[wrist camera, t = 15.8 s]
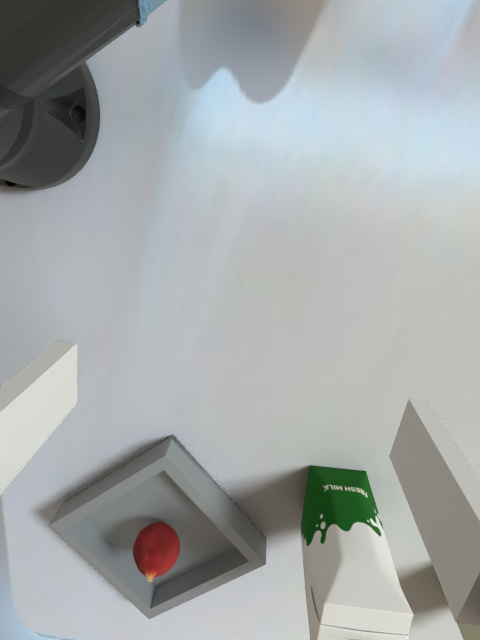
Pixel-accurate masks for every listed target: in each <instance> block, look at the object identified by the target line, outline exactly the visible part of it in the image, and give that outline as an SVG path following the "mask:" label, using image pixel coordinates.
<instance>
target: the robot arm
mask: <svg viewBox="0 0 480 640" xmlns="http://www.w3.org/2000/svg"><path fill="white" fill-rule="evenodd" d="M165 1H166V0H0V185H1V186H4V187H8V188H13V189H21V190H33V189H44V188H50V187H54V186H57V185H60V184H62V183H64V182H66V181H67V180H69V179H71V178H72V177H73V176H75V175H76V174H77V173H78V172H79V171H80V170H81V169H82V168H83V166H84V165H85V164H86V162H87V161H88V159H89V158H90V156H91V154H92V152H93V149H94V147H95V144H96V141H97V137H98V132H99V124H100V108H99V100H98V94H97V90H96V87H95V83H94V80H93V78H92V75H91V73H90V71H89V68H88V67H87V65H86V63H85V61H86V60H88V59H89V58H90V57H92V56H93V55H94V54H96V53H97V52H99V51H100V50H101V49H103V48H104V47H105V46H107V45H108V44H110V43H111V42H112V41H114V40H115V39H116V38H118V37H119V36H120V35H122V34H123V33H125V32H126V31H127V30H129V29H130V28H131V27H133V26H134V25H136V26H137V27H141V26H142V25H143V24H144V23H145V22H146V20H147V17H148V15H149V14H150V13H152V12H153V11H154V10H155V9H157V8H158V7H159V6H160V5H162V4H163V3H164V2H165ZM76 403H77V343H72V342H66V341H60V340H58V341H57V342H55V343H54V344H53V345H52V346H50V347H49V348H48V349H47V350H45V351H44V352H43V353H42V354H40V355H39V356H38V357H37V358H35V359H34V360H33V361H32V362H30V363H29V364H28V365H27V366H25V367H24V368H23V369H22V370H20V371H19V372H18V373H17V374H16V375H14V376H13V377H12V378H11V379H9V380H8V381H7V382H6V383H4V384H3V385H2V386H1V387H0V495H1V493H2V492H3V491H4V490H5V489H6V487H7V486H8V485H9V484H10V483H11V481H12V480H13V479H14V478H15V477H16V475H17V474H18V473H19V472H20V471H21V469H22V468H23V467H24V466H25V465H26V463H27V462H28V461H29V460H30V459H31V457H32V456H33V455H34V454H35V453H36V451H37V450H38V449H39V448H40V447H41V445H42V444H43V443H44V442H45V441H46V439H47V438H48V437H49V436H50V435H51V433H52V432H53V431H54V430H55V429H56V427H57V426H58V425H59V424H60V423H61V421H62V420H63V419H64V418H65V417H66V415H67V414H68V413H69V412H70V411H71V409H72V408H73V407H74V406H75V405H76ZM390 459H391V461H392V464H393V466H394V469H395V471H396V474H397V476H398V479H399V481H400V484H401V486H402V489H403V491H404V494H405V497H406V499H407V502H408V504H409V507H410V509H411V512H412V514H413V517H414V519H415V522H416V524H417V527H418V529H419V532H420V534H421V537H422V539H423V542H424V544H425V547H426V549H427V552H428V554H429V557H430V559H431V562H432V564H433V567H434V569H435V572H436V574H437V577H438V579H439V582H440V584H441V587H442V589H443V592H444V594H445V597H446V599H447V602H448V605H449V607H450V610H451V612H452V615H453V617H454V620H455V622H459V623H464V624H470V625H476V626H480V480H479V478H478V477H477V475H476V474H475V472H474V471H473V469H472V468H471V466H470V465H469V463H468V461H467V460H466V458H465V457H464V455H463V454H462V452H461V451H460V449H459V448H458V446H457V445H456V443H455V442H454V440H453V439H452V437H451V436H450V434H449V432H448V431H447V429H446V428H445V426H444V425H443V423H442V422H441V420H440V419H439V417H438V416H437V414H436V413H435V411H434V410H433V408H432V407H431V405H430V403H429V402H426V401H420V400H414V399H408V402H407V405H406V408H405V411H404V414H403V417H402V420H401V423H400V426H399V429H398V432H397V435H396V438H395V441H394V444H393V447H392V450H391V453H390Z"/></svg>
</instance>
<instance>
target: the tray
mask: <svg viewBox="0 0 480 640" xmlns="http://www.w3.org/2000/svg"><path fill="white" fill-rule="evenodd" d="M156 522H164V523H167V524H169V525H170V526H171V527H172V528H173V529H174V530H175V531H176V533H177V535H178V538H179V540H180V554H179V556H178V558H177V560H176V562H175V565H174V566H173V567H172V568H171V569H170V570H169V571H168V572H167V573H165V574H164V575H162V576H159V577H156V578H153V581H152V582H148V581H147V579H146V577H145V575H143V574H141V572H140V571H139V570H138V568H137V566H136V563H135V561H134V557H133V546H134V542H135V540H136V538H137V536H138V534H139V532H140V531H141V530H142V529H143V528H145V527H146V526H148V525H149V524H152V523H156ZM49 527H50V528H51V529H52V530H53V531H54V532H55V533H57V534H58V535H59V536H60V537H61V538H62V539H63V540H64V541H65V542H66V543H67V544H68V545H70V546H71V547H72V548H73V549H74V550H75V551H76V552H77V553H78V554H79V555H80V556H81V557H82V558H84V559H85V560H86V561H87V562H88V563H89V564H90V565H91V566H92V567H93V568H94V569H95V570H97V571H98V572H99V573H100V574H101V575H102V576H103V577H104V578H105V579H106V580H107V581H108V582H110V583H111V584H112V585H113V586H114V587H115V588H116V589H117V590H118V591H119V592H120V593H121V594H122V595H124V596H125V597H126V598H127V599H128V600H129V601H130V602H131V603H132V604H133V605H134V606H135V607H137V608H138V609H139V610H140V611H141V612H142V613H143V614H144V615H145V616H146V617H147V618H148V619H151V618H153V617H155V616H157V615H159V614H161V613H163V612H165V611H168V610H170V609H172V608H174V607H176V606H178V605H180V604H182V603H185V602H187V601H189V600H191V599H193V598H195V597H197V596H199V595H202V594H204V593H206V592H208V591H210V590H212V589H214V588H216V587H219V586H221V585H223V584H225V583H227V582H229V581H231V580H233V579H236V578H238V577H240V576H242V575H244V574H246V573H248V572H250V571H253V570H255V569H257V568H259V567H261V566H263V565H265V564H266V537H265V536H264V535H263V534H262V533H261V532H260V531H259V529H258V528H257V527H256V526H255V525H254V524H253V523H252V522H251V521H250V519H249V518H248V517H247V516H246V515H245V514H244V513H243V512H242V511H241V509H240V508H239V507H238V506H237V505H236V504H235V503H234V502H233V501H232V499H231V498H230V497H229V496H228V495H227V494H226V493H225V492H224V491H223V489H222V488H221V487H220V486H219V485H218V484H217V483H216V482H215V481H214V480H213V478H212V477H211V476H210V475H209V474H208V473H207V472H206V471H205V470H204V468H203V467H202V466H201V465H200V464H199V463H198V462H197V461H196V460H195V458H194V457H193V456H192V455H191V454H190V453H189V452H188V451H187V450H186V448H185V447H184V446H183V445H182V444H181V443H180V442H179V441H178V440H177V438H176V437H175V436H174V435H172V436H170V437H169V438H167V439H166V440H164V441H162V442H161V443H159V444H157V445H156V446H154V447H153V448H151V449H149V450H148V451H146V452H144V453H143V454H141V455H140V456H138V457H136V458H135V459H133V460H131V461H130V462H128V463H127V464H125V465H123V466H122V467H120V468H118V469H117V470H115V471H114V472H112V473H110V474H109V475H107V476H106V477H104V478H102V479H101V480H99V481H97V482H96V483H94V484H93V485H91V486H89V487H88V488H86V489H84V490H83V491H81V492H80V493H78V494H76V495H75V496H73V497H71V498H70V499H68V500H67V501H65V502H63V504H62V505H61V507H60V509H59V510H58V512H57V513H56V515H55V517H54V518H53V520H52V521H51V523H50V524H49Z"/></svg>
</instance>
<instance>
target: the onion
mask: <svg viewBox="0 0 480 640" xmlns="http://www.w3.org/2000/svg"><path fill="white" fill-rule="evenodd" d="M179 554H180V540H179V538H178V535H177V533H176V531H175V530H174V529H173V528H172V527H171V526H170V525H169V524H167V523H164V522H156V523H152V524H149V525H148V526H146V527H145V528H143V529H142V530H141V531H140V532H139V534H138V536H137V538H136V540H135V542H134V546H133V557H134V561H135V563H136V566H137V568H138V570H139V571H140V572H141V574H143V575H145V577H146V579H147V581H148V582H152V581H153V578H156V577H159V576H162V575H164V574H165V573H167V572H168V571H169V570H170V569H171V568H172V567H173V566H174V565H175V562H176V560H177V558H178V556H179Z"/></svg>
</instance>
